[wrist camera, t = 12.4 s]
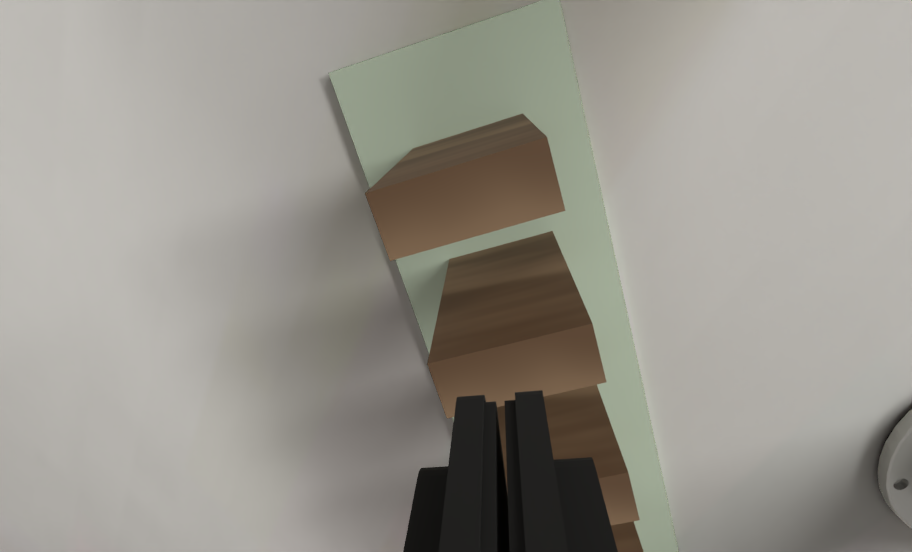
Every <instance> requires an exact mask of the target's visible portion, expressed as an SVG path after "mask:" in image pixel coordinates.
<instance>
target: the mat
mask: <svg viewBox="0 0 912 552" xmlns="http://www.w3.org/2000/svg"><path fill="white" fill-rule="evenodd" d="M329 76H330V79H331V82H332V84H333V87H334V90H335V93H336V95H337V98H338V101H339V104H340V107H341V109H342V112H343V115H344V118H345V121H346V123H347V126H348V129H349V132H350V135H351V137H352V140H353V143H354V146H355V149H356V151H357V154H358V157H359V160H360V162H361V165H362V168H363V171H364V174H365V176H366V179H367V182H368V185H369V188H371V187H372V186H373V185H374V184H376V183H377V182H378V181H379V180H380V179H381V178H382V177H383V176H384V175H385V174H386V173H387V172H388V171H389V170H391V169H392V168H393V167H394V166H395V165H396V164H397V163H398V162H399V161H400V160H401V159H402V158H403V157H404V156H405V155H407V154H408V153H409V152H410V151H411V150H412V149H413V148H416V147H419V146H422V145H425V144H428V143H431V142H435V141H438V140H441V139H444V138H447V137H450V136H453V135H456V134H460V133H463V132H466V131H469V130H472V129H475V128H478V127H482V126H485V125H488V124H491V123H494V122H497V121H500V120H503V119H507V118H510V117H513V116H516V115H519V114H522V113H523V114H524V115H525V116H526V117H527V118H528V119H529V120H530V121H531V122H532V123H533V124H534V125H535V126H536V127H537V128H538V129H539V130H540V131H541V132H542V133H544V134H545V135H546V136H547V139H548V143H549V147H550V151H551V155H552V159H553V163H554V167H555V171H556V175H557V179H558V183H559V187H560V191H561V195H562V199H563V203H564V207H565V211H563V212H559V213H556V214H552V215H549V216H545V217H542V218H538V219H535V220H531V221H528V222H524V223H521V224H518V225H514V226H511V227H507V228H504V229H500V230H497V231H493V232H490V233H486V234H483V235H479V236H476V237H472V238H469V239H465V240H462V241H458V242H455V243H451V244H448V245H444V246H441V247H437V248H434V249H430V250H427V251H423V252H420V253H416V254H413V255H409V256H406V257H403V258H399V259H396V263H397V266H398V269H399V271H400V274H401V277H402V280H403V283H404V285H405V288H406V291H407V294H408V296H409V299H410V302H411V305H412V308H413V310H414V313H415V316H416V319H417V322H418V324H419V327H420V330H421V333H422V336H423V338H424V341H425V344H426V347H427V350H428V352H429V353H430V348H431V344H432V339H433V334H434V329H435V325H436V320H437V315H438V310H439V306H440V301H441V296H442V291H443V287H444V282H445V277H446V272H447V268H448V263H449V259H451V258H455V257H459V256H462V255H466V254H470V253H473V252H477V251H481V250H484V249H488V248H492V247H495V246H499V245H503V244H506V243H510V242H514V241H517V240H521V239H525V238H528V237H532V236H536V235H539V234H543V233H547V232H550V231H553V233H554V236H555V238H556V240H557V243H558V245H559V247H560V249H561V252H562V254H563V256H564V259H565V261H566V263H567V266H568V268H569V270H570V273H571V275H572V277H573V280H574V282H575V284H576V287H577V289H578V291H579V293H580V296H581V298H582V300H583V303H584V305H585V307H586V310H587V312H588V314H589V317H590V319H591V321H592V324H593V328H594V332H595V336H596V340H597V344H598V348H599V353H600V357H601V361H602V365H603V369H604V373H605V378H606V383H601V384H597V387H598V389H599V392H600V395H601V398H602V401H603V403H604V406H605V409H606V412H607V414H608V417H609V420H610V423H611V426H612V428H613V431H614V434H615V437H616V440H617V442H618V445H619V448H620V451H621V453H622V456H623V459H624V462H625V465H626V467H627V470H628V473H629V477H630V481H631V486H632V490H633V494H634V498H635V502H636V506H637V510H638V515H639V519H640V520H638V521H634V524H635V527H636V530H637V533H638V536H639V539H640V542H641V545H642V548H643V551H644V552H679V550H678V546H677V541H676V536H675V532H674V527H673V522H672V518H671V513H670V509H669V504H668V499H667V495H666V490H665V485H664V481H663V476H662V471H661V467H660V462H659V458H658V453H657V448H656V444H655V439H654V434H653V430H652V425H651V420H650V416H649V411H648V406H647V402H646V397H645V393H644V388H643V383H642V379H641V374H640V369H639V365H638V360H637V355H636V351H635V346H634V342H633V337H632V332H631V328H630V323H629V318H628V314H627V309H626V304H625V300H624V295H623V291H622V286H621V281H620V277H619V272H618V267H617V263H616V258H615V253H614V249H613V244H612V239H611V235H610V230H609V226H608V221H607V216H606V212H605V207H604V202H603V198H602V193H601V188H600V184H599V179H598V175H597V170H596V165H595V161H594V156H593V151H592V147H591V142H590V137H589V133H588V128H587V124H586V119H585V114H584V110H583V105H582V100H581V96H580V91H579V86H578V82H577V77H576V73H575V68H574V63H573V59H572V54H571V49H570V45H569V40H568V35H567V31H566V26H565V21H564V17H563V12H562V8H561V3H560V0H542V1H539V2H536V3H533V4H530V5H527V6H524V7H521V8H518V9H515V10H513V11H510V12H507V13H504V14H501V15H498V16H495V17H492V18H489V19H486V20H483V21H480V22H477V23H474V24H471V25H468V26H465V27H463V28H460V29H457V30H454V31H451V32H448V33H445V34H442V35H439V36H436V37H433V38H430V39H427V40H424V41H421V42H418V43H415V44H412V45H410V46H407V47H404V48H401V49H398V50H395V51H392V52H389V53H386V54H383V55H380V56H377V57H374V58H371V59H368V60H365V61H362V62H360V63H357V64H354V65H351V66H348V67H345V68H342V69H339V70H336V71H333V72H330V73H329ZM452 419H453V422H454V417H452Z"/></svg>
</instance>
